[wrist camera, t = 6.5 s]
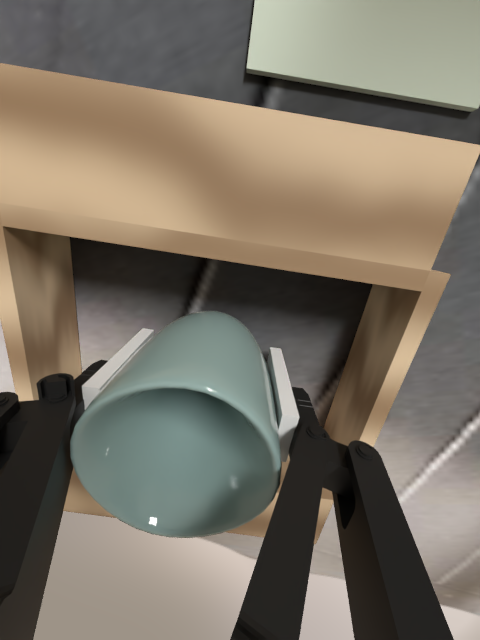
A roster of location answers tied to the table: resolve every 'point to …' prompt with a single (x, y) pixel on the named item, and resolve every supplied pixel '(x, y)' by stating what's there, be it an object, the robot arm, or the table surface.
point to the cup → (184, 432)
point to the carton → (219, 221)
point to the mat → (373, 47)
